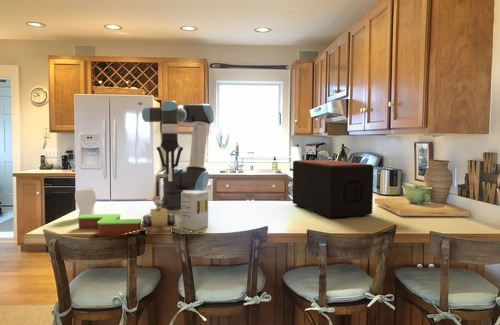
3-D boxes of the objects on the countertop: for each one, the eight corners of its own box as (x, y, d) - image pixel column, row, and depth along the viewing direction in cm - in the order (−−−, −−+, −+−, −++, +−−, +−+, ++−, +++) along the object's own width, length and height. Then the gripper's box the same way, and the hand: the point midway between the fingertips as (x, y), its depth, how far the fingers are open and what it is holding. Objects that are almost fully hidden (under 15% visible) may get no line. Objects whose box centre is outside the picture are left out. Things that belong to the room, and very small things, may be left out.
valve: (173, 222, 175) (172, 202, 174) (175, 225, 169) (174, 204, 169) (142, 225, 170) (142, 204, 169) (143, 228, 164) (143, 206, 164)
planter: (66, 237, 154) (66, 223, 154) (82, 226, 172) (82, 214, 172) (139, 235, 157) (139, 222, 157) (147, 225, 175) (147, 213, 175)
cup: (89, 220, 185) (88, 190, 184) (70, 219, 187) (70, 190, 186) (101, 215, 195) (101, 188, 194) (84, 215, 197) (83, 187, 196)
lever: (163, 205, 168) (163, 201, 168) (155, 205, 167) (155, 201, 166) (159, 199, 181) (159, 196, 181) (152, 200, 180) (151, 196, 180)
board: (171, 222, 181) (170, 219, 181) (177, 231, 163) (177, 228, 163) (141, 224, 177) (141, 221, 176) (145, 234, 158) (145, 231, 158)
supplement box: (195, 230, 165) (195, 193, 164) (180, 227, 170) (180, 192, 169) (208, 226, 173) (208, 191, 172) (193, 223, 178) (193, 189, 177)
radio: (373, 216, 196) (375, 164, 194) (331, 220, 187) (332, 165, 185) (328, 202, 238) (329, 159, 236) (291, 205, 229) (292, 160, 227)
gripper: (181, 133, 184) (182, 179, 185) (155, 132, 179) (155, 180, 181) (184, 133, 177) (184, 181, 178) (156, 132, 172) (157, 182, 174)
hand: (170, 180), depth 180 cm, fingers closed
